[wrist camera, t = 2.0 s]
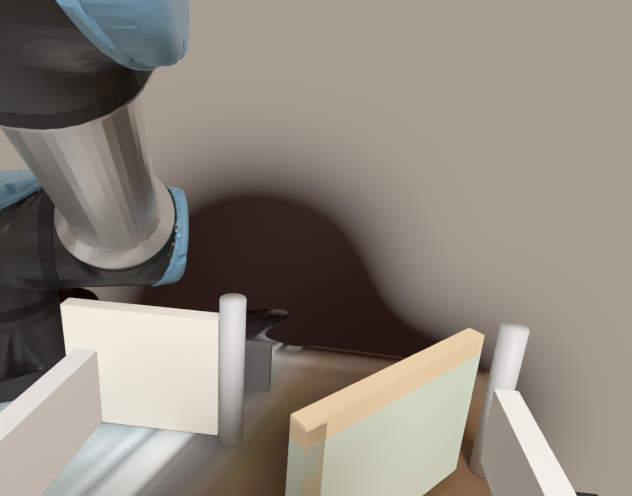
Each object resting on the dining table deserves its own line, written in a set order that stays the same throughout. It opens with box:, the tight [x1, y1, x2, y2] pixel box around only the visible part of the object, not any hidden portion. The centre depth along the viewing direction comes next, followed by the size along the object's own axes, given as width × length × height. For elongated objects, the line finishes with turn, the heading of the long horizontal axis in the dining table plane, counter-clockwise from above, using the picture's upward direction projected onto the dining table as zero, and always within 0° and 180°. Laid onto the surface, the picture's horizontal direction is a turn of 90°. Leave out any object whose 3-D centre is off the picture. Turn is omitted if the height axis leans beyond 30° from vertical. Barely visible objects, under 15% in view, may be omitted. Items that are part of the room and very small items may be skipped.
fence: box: [60, 293, 529, 478], centre depth 47 cm, size 3×43×16 cm, turn 85°
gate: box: [285, 328, 484, 496], centre depth 39 cm, size 20×2×15 cm, turn 130°
